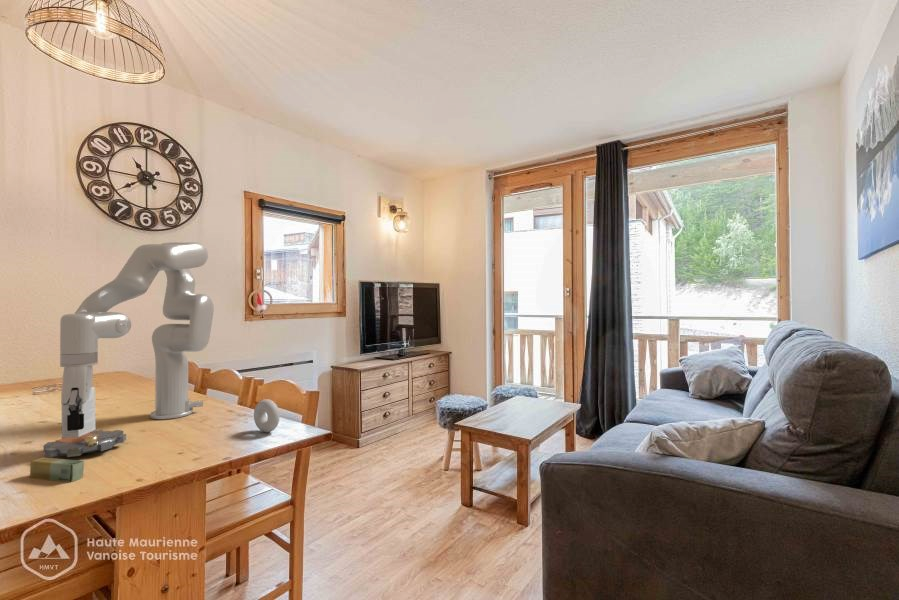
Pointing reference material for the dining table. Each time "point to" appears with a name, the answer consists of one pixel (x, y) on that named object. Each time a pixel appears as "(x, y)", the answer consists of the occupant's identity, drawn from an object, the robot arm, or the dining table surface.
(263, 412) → the donut
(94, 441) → the notched metal plate
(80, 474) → the medication box
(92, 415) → the skincare box
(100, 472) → the dining table surface
